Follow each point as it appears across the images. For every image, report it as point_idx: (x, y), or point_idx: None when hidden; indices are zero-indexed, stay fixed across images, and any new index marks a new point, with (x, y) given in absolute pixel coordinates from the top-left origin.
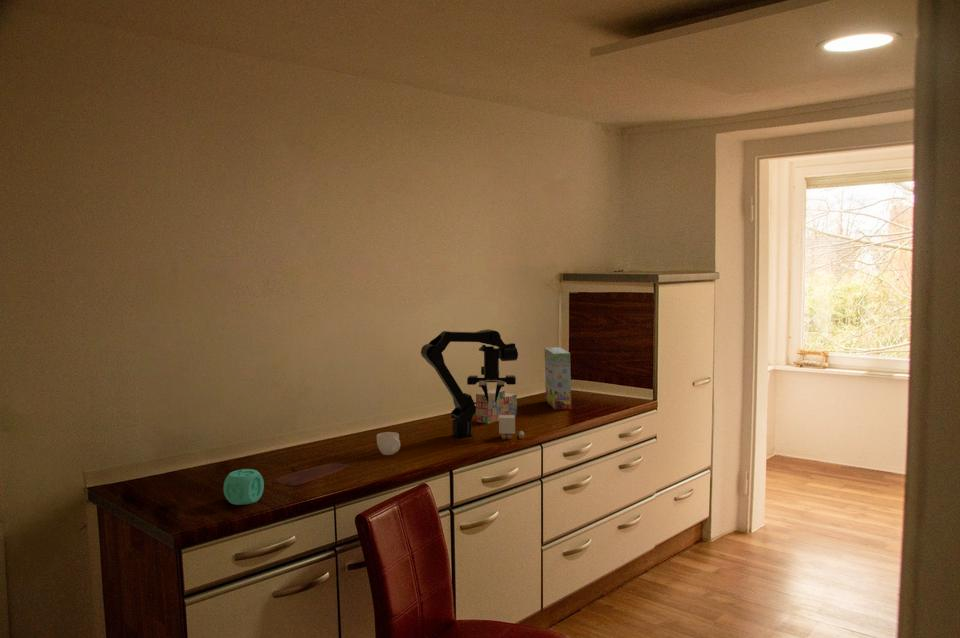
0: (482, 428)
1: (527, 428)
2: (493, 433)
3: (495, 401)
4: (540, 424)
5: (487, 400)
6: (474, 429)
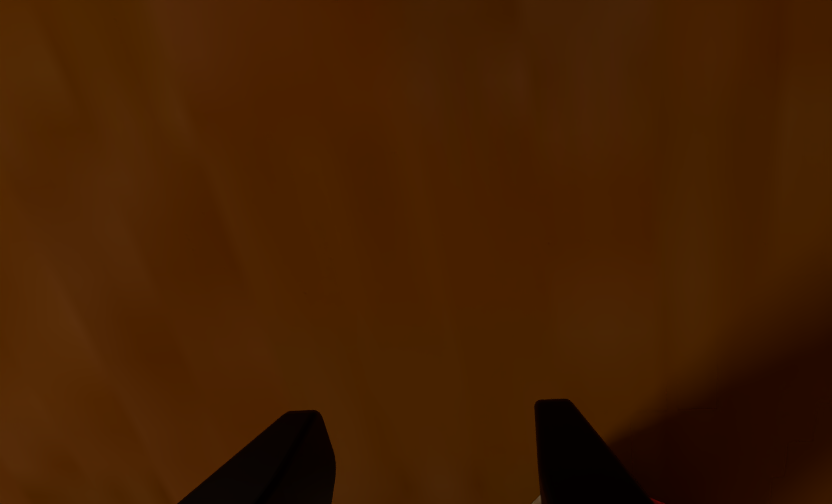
0: (623, 278)
1: (82, 315)
2: (431, 10)
3: (296, 417)
4: (34, 461)
5: (574, 428)
6: (736, 220)
